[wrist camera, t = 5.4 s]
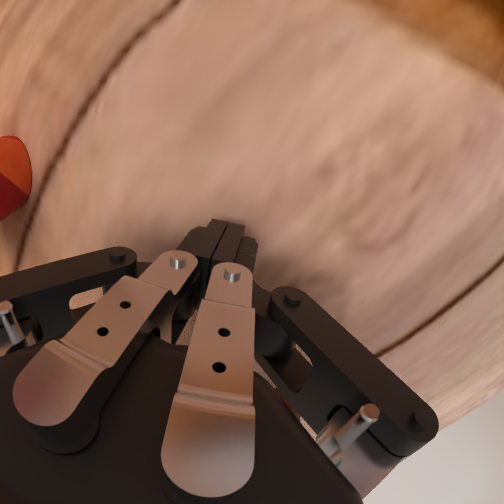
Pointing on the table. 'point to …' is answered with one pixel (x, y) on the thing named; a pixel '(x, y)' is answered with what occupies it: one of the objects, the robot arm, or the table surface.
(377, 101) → the table surface
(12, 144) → the paper cup
